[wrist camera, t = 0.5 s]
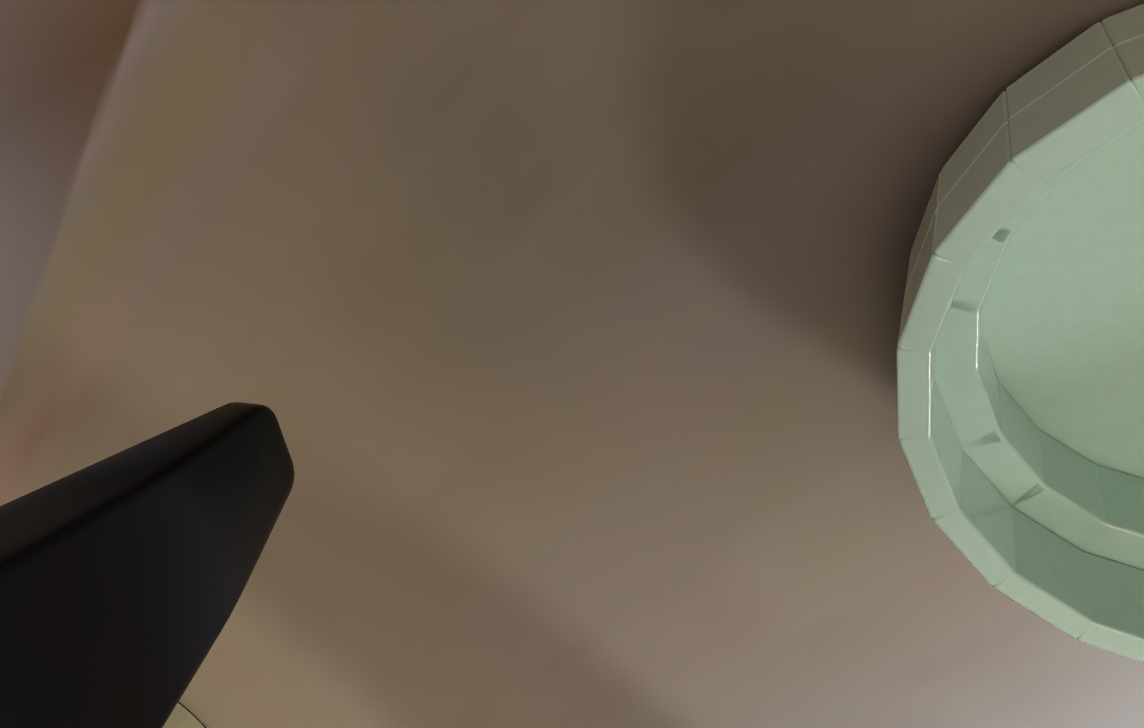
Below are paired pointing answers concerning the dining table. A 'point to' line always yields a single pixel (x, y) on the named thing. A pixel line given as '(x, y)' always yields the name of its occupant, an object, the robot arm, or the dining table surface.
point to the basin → (1039, 341)
